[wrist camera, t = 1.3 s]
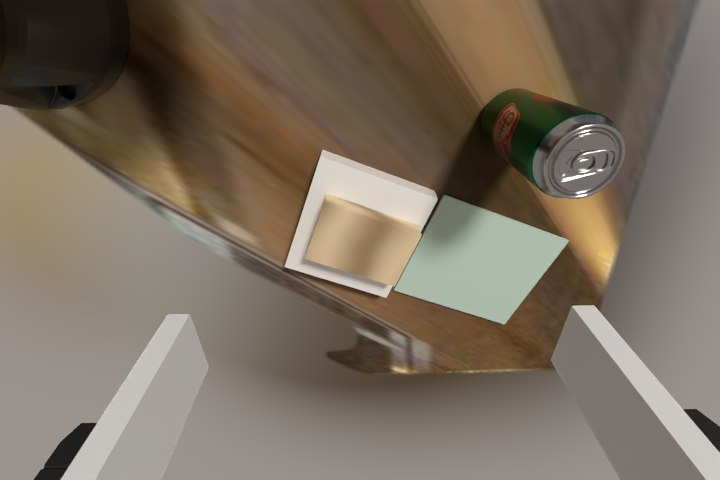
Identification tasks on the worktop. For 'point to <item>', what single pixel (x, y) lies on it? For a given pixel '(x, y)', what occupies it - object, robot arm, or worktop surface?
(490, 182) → the worktop surface
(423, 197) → the white flat square block
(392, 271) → the tan flat block
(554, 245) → the mat
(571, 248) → the worktop surface
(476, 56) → the worktop surface
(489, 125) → the soda can
